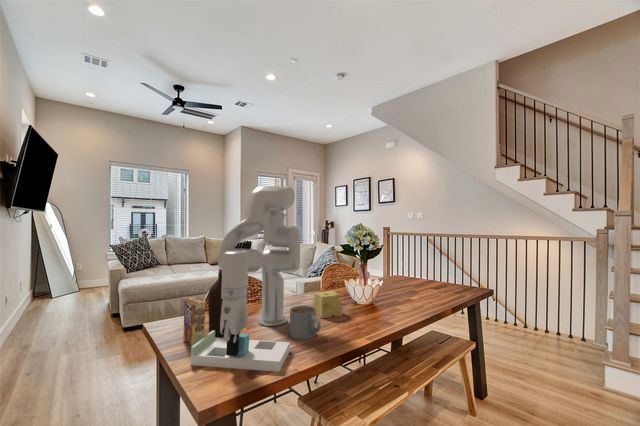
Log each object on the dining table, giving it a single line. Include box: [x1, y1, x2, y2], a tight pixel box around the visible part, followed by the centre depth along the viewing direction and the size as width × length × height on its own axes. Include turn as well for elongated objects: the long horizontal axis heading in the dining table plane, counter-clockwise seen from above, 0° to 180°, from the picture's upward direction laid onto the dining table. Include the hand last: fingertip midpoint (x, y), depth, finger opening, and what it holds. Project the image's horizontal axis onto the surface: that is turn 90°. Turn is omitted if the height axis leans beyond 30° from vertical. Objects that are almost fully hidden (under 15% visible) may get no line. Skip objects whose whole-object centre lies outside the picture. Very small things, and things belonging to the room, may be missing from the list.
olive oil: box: [207, 268, 224, 338], centre depth 119 cm, size 11×11×25 cm
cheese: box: [313, 290, 343, 319], centre depth 144 cm, size 10×11×10 cm
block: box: [237, 333, 250, 355], centre depth 94 cm, size 5×5×5 cm
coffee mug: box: [289, 305, 322, 341], centre depth 116 cm, size 13×10×10 cm
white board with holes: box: [190, 330, 291, 373], centre depth 98 cm, size 14×28×6 cm, turn 83°
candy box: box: [182, 297, 207, 347], centre depth 109 cm, size 9×4×15 cm, turn 47°
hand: (232, 354), depth 89 cm, fingers closed
